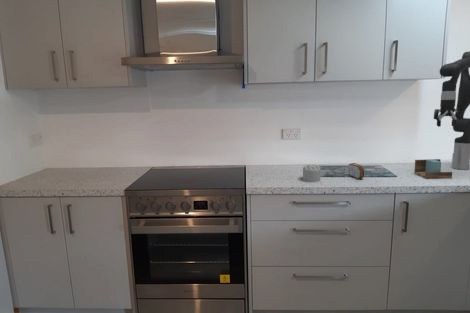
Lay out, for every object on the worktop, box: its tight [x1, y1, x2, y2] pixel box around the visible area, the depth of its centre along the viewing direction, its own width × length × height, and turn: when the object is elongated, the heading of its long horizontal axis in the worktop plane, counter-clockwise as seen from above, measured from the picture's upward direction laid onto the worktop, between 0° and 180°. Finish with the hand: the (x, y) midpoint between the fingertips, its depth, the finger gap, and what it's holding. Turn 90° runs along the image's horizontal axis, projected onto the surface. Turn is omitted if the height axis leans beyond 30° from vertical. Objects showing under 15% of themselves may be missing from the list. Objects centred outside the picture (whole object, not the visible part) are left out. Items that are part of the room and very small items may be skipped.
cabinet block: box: [425, 158, 442, 173], centre depth 202 cm, size 8×4×8 cm, turn 0°
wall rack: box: [413, 158, 453, 180], centre depth 202 cm, size 14×15×9 cm
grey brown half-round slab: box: [348, 162, 365, 180], centre depth 205 cm, size 15×3×8 cm, turn 9°
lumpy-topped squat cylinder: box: [302, 164, 322, 183], centre depth 203 cm, size 10×13×9 cm
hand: (446, 126), depth 199 cm, fingers open, 8 cm apart
